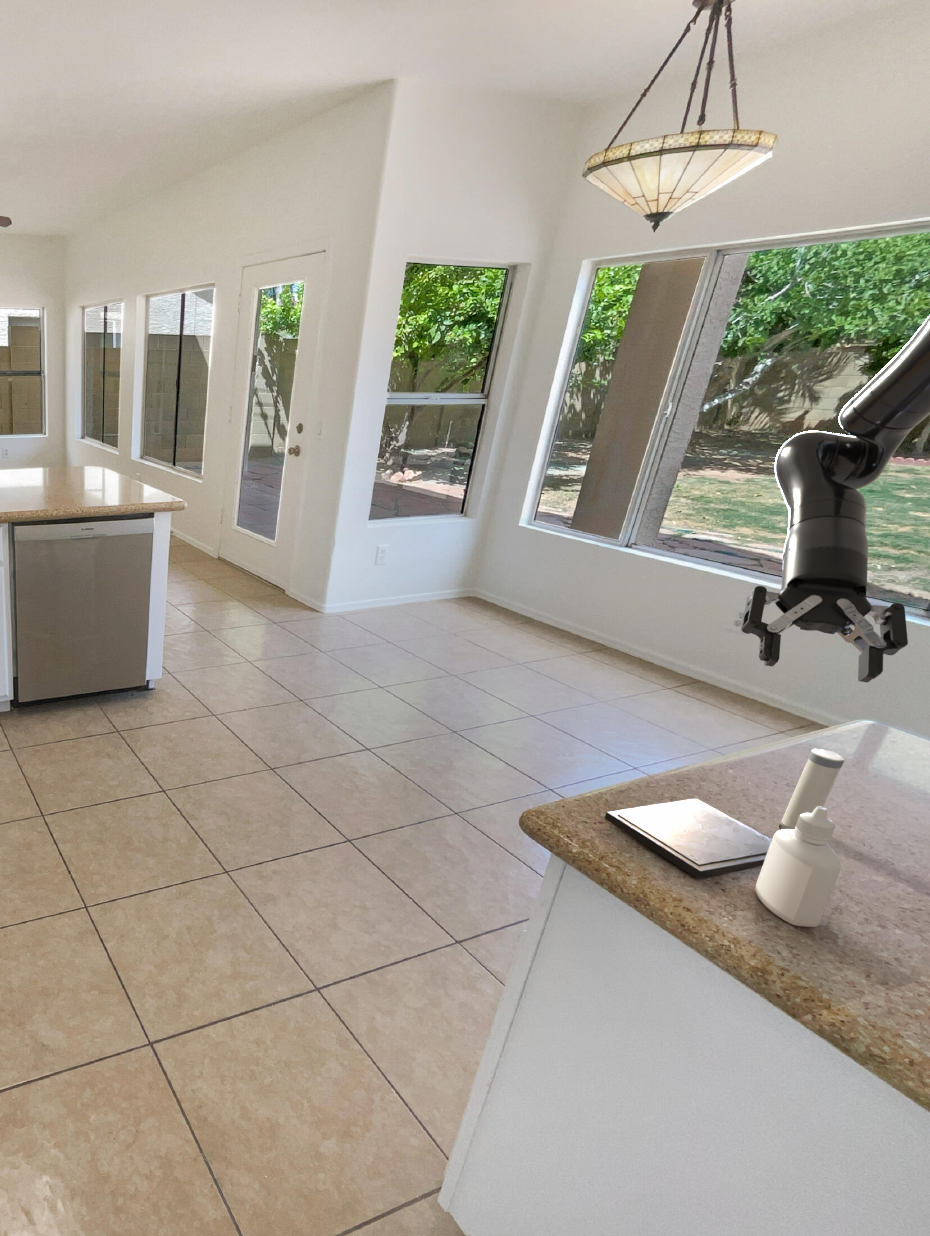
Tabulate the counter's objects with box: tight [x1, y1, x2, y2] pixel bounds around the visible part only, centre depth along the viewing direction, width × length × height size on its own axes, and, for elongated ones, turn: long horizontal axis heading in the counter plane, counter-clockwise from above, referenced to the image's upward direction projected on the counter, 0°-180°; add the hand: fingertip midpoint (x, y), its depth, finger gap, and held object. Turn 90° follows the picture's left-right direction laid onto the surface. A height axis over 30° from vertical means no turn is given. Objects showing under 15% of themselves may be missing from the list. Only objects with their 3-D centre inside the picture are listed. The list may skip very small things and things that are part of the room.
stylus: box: [778, 748, 845, 830], centre depth 80 cm, size 3×3×11 cm
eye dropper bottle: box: [754, 806, 842, 928], centre depth 68 cm, size 4×6×12 cm
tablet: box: [604, 798, 773, 880], centre depth 80 cm, size 14×11×1 cm
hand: (818, 671), depth 84 cm, fingers open, 8 cm apart
